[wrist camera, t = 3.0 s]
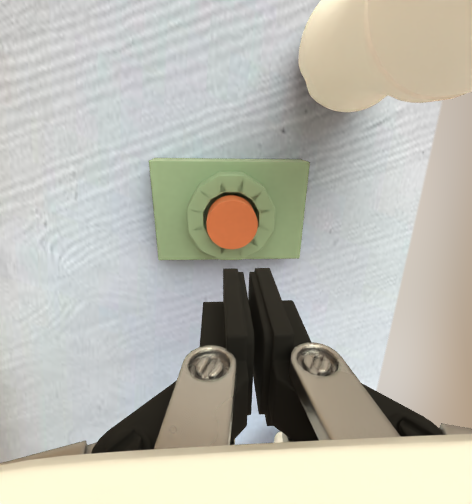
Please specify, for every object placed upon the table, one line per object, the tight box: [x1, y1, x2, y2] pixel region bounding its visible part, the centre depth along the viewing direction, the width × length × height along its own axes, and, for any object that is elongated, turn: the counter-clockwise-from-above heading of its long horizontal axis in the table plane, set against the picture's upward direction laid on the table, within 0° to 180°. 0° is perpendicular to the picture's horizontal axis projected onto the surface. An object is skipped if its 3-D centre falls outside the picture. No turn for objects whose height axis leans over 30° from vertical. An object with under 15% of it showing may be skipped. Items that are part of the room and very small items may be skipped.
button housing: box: [149, 158, 310, 260], centre depth 23 cm, size 12×8×4 cm, turn 89°
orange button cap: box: [206, 195, 258, 249], centre depth 21 cm, size 4×4×2 cm
